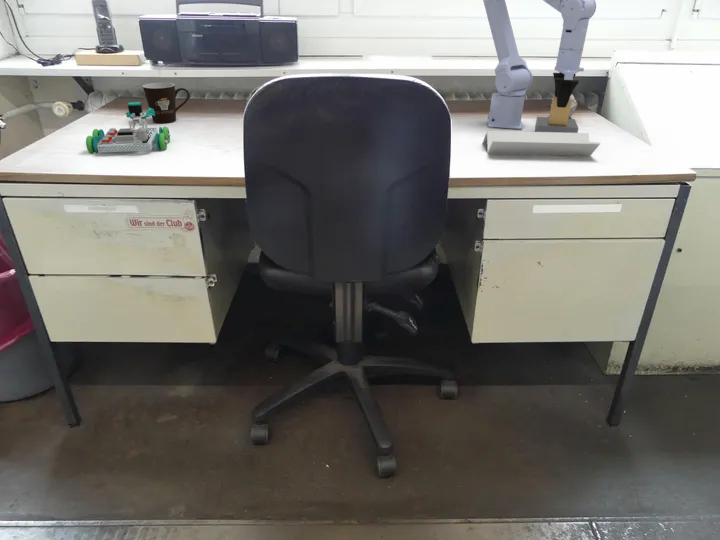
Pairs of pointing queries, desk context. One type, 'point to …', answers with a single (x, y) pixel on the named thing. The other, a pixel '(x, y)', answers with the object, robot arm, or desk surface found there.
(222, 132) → the desk surface
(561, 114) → the ochre block
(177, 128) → the desk surface
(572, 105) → the game die
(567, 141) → the grey v-shaped trough
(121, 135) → the robot kit
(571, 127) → the charcoal stand
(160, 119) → the coffee mug
